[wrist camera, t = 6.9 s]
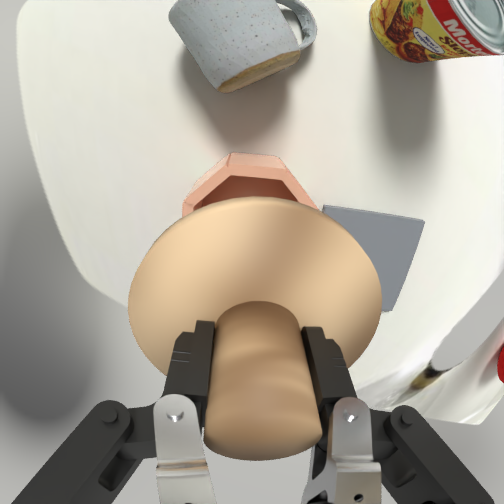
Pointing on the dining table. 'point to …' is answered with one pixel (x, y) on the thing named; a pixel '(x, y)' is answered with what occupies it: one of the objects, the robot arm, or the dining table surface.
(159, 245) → the lid
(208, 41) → the ceramic mug
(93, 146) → the dining table surface
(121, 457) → the robot arm
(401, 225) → the mat
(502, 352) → the tomato
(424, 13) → the canned food
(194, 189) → the bowl
